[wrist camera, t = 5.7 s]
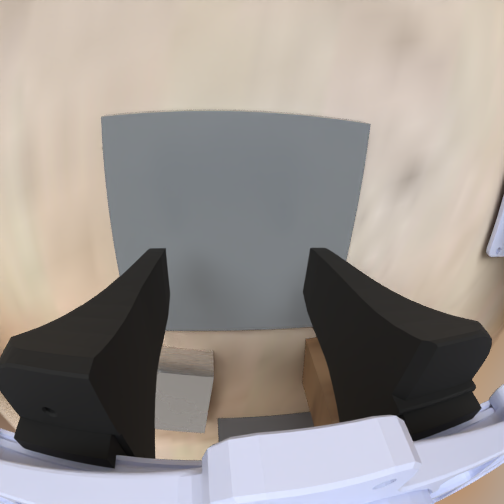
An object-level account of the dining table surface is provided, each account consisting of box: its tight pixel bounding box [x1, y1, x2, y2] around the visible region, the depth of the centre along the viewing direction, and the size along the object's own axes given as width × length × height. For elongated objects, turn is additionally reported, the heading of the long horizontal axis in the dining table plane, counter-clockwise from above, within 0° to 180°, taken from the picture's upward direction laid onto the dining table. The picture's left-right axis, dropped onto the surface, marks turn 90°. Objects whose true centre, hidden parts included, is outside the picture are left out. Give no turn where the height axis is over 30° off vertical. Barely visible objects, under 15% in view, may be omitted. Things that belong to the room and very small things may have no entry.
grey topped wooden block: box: [155, 346, 214, 433], centre depth 19 cm, size 7×5×2 cm
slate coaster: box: [101, 110, 370, 331], centre depth 14 cm, size 11×11×1 cm
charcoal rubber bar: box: [218, 412, 314, 442], centre depth 23 cm, size 8×3×3 cm, turn 87°
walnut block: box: [302, 337, 340, 427], centre depth 17 cm, size 4×4×6 cm
